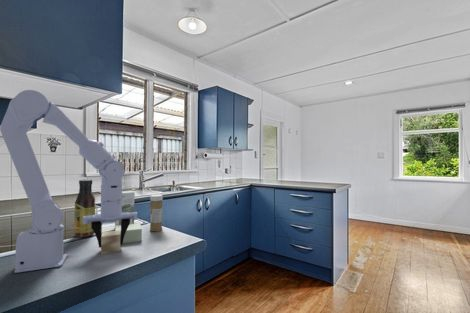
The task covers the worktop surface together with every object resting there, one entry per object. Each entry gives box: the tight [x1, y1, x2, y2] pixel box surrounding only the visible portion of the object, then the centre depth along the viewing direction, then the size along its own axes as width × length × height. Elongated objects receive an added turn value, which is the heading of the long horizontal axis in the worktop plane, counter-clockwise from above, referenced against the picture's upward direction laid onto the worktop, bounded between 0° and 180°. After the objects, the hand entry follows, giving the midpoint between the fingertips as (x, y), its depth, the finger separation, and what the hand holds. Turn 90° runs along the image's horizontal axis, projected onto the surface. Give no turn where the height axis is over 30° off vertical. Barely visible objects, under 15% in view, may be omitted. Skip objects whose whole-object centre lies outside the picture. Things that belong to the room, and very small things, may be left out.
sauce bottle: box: [73, 178, 96, 238], centre depth 89 cm, size 7×6×20 cm
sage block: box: [114, 222, 143, 244], centre depth 85 cm, size 8×8×4 cm
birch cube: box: [100, 230, 121, 255], centre depth 75 cm, size 5×5×5 cm
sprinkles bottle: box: [149, 194, 164, 232], centre depth 96 cm, size 5×5×14 cm
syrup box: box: [114, 190, 135, 228], centre depth 98 cm, size 6×6×14 cm
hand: (111, 245), depth 75 cm, fingers closed on birch cube, 5 cm apart
